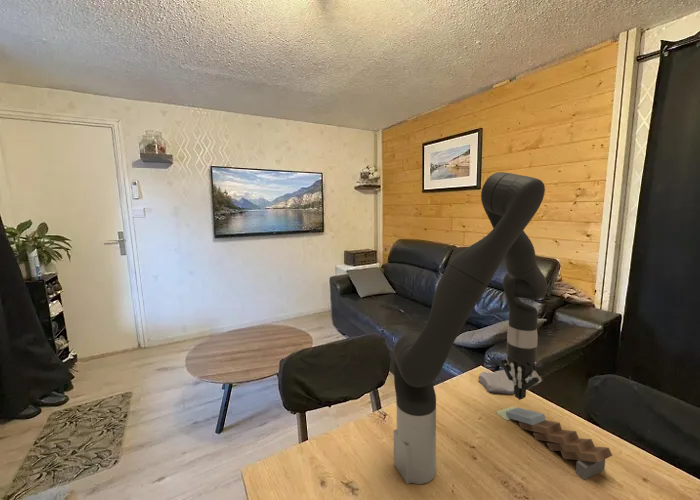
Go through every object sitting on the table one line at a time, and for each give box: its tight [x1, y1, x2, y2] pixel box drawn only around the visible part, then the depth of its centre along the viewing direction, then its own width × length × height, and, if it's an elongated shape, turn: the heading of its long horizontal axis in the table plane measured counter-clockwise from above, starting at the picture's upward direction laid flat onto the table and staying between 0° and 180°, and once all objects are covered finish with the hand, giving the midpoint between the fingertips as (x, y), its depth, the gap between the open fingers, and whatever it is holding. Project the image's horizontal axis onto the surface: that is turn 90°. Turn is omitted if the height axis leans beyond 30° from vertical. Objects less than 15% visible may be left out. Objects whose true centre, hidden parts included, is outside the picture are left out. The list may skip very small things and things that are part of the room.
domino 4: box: [546, 437, 596, 453], centre depth 78 cm, size 5×2×9 cm
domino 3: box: [532, 429, 579, 444], centre depth 82 cm, size 5×2×9 cm
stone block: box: [478, 369, 515, 396], centre depth 109 cm, size 12×5×10 cm
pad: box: [495, 405, 516, 421], centre depth 95 cm, size 7×4×1 cm, turn 111°
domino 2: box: [518, 419, 563, 435], centre depth 86 cm, size 5×2×9 cm
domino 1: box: [506, 407, 547, 425], centre depth 90 cm, size 5×2×9 cm
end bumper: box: [575, 459, 606, 480], centre depth 74 cm, size 7×2×3 cm, turn 111°
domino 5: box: [560, 446, 613, 462], centre depth 75 cm, size 5×2×9 cm
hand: (519, 397), depth 92 cm, fingers closed
